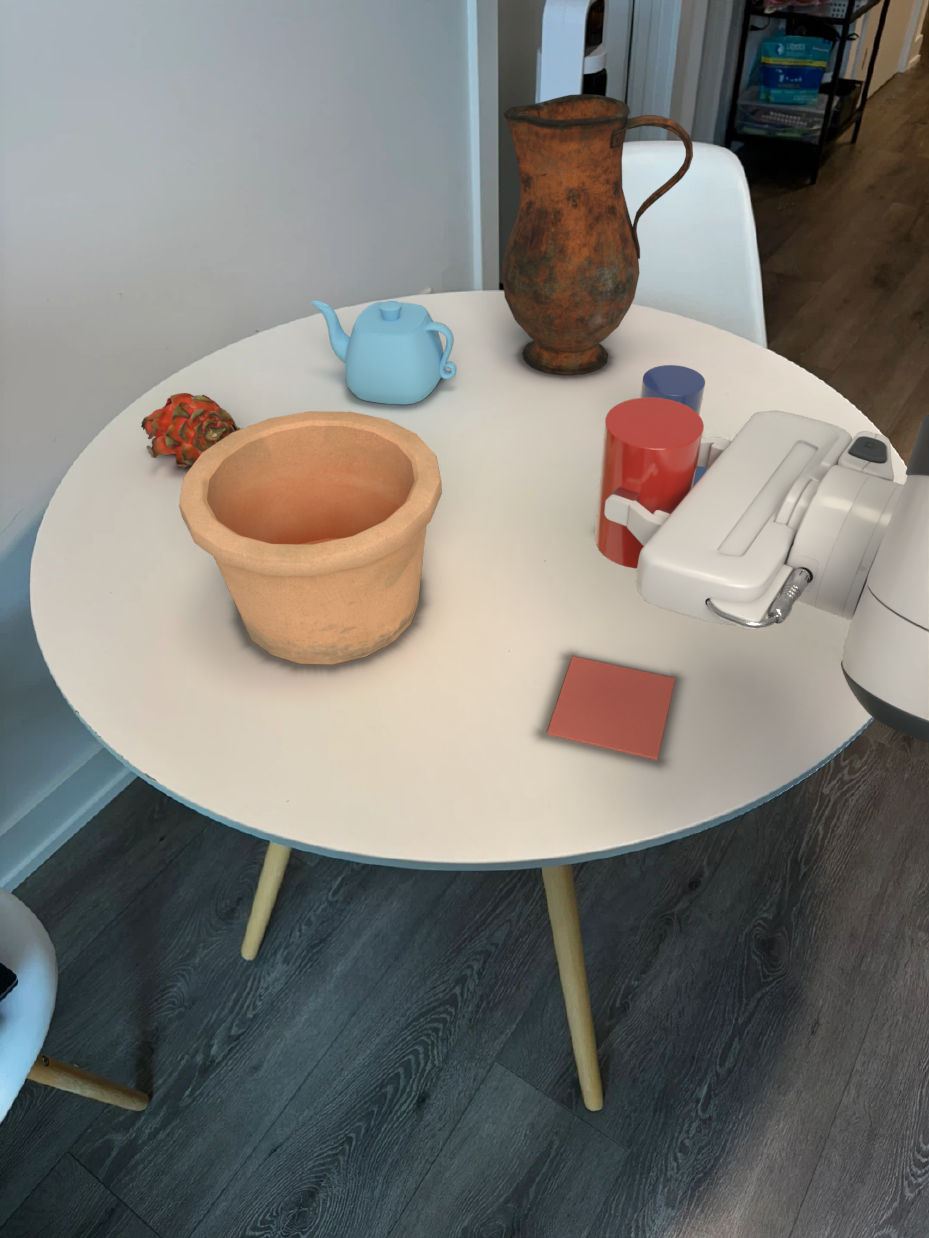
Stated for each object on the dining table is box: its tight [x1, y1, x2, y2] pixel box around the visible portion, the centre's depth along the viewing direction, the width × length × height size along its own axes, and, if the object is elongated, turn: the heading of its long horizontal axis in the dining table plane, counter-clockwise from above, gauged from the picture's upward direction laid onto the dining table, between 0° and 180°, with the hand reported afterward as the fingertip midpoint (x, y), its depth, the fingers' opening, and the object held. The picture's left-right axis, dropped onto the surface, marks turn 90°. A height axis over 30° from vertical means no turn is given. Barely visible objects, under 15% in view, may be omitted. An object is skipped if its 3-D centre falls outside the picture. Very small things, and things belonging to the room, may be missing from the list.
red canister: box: [594, 397, 705, 570], centre depth 64 cm, size 6×6×10 cm
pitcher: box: [501, 93, 694, 376], centre depth 111 cm, size 17×21×30 cm
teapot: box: [310, 300, 458, 405], centre depth 114 cm, size 13×11×18 cm
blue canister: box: [639, 364, 706, 417], centre depth 99 cm, size 6×6×10 cm
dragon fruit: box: [140, 392, 241, 469], centre depth 104 cm, size 8×8×12 cm
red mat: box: [546, 655, 676, 761], centre depth 77 cm, size 9×9×1 cm
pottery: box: [178, 410, 443, 665], centre depth 83 cm, size 22×22×14 cm
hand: (635, 473), depth 64 cm, fingers closed on red canister, 6 cm apart
